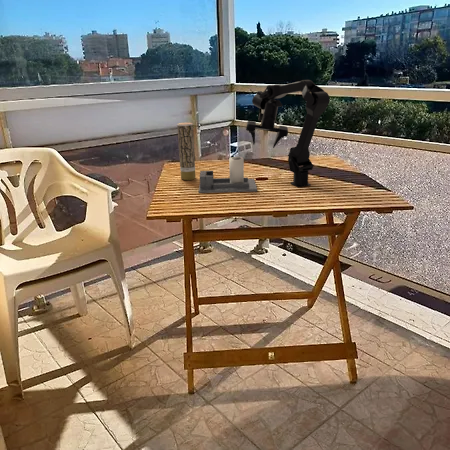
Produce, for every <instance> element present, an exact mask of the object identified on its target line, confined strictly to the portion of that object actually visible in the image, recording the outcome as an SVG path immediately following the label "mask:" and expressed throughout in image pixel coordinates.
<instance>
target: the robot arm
mask: <svg viewBox="0 0 450 450" xmlns="http://www.w3.org/2000/svg"><path fill="white" fill-rule="evenodd" d="M299 92H301V96H302V99H303V100H304V101H305V109H306V110H305V111H306V116H305V119H304V122H303V125H302V128H301V132H300V134H299V137H298V141H297V143H296V146H293V147H290V149H289V152H288V155H287V157H288V159H287V162H288V166H289V171H290V172H291V173H293V178H292V179H293V181H291V182H290V184H291V185H292V186H295V187H297V188H302V187H309V186H311V185H312V184H311V183H309V171H312V170H313V168H314V164H313V162H312V161H311V159H310V156H311V155H310V154H311V153H310V145H311V141H312V139H313V137H314V134H315V130H316V127H317V124H318V122H319V119H320V117H321V115H322V114H324V112H325V111H326V110H327V107H328V105H329V103H330V101H331V100H330V99H331V98H330V95H329V93H328V92H326V91H325V90H324V89H323V88H322V87H320V86H319V85H317V84H315V83H314V82H313V81H312V80H311V79H302V80H300V81H295V82H292V83H291V82H290V83H287V84H283V83H281V84H280V83H278V84H277V83H276V84H267V85H266V87H265V89H264V90H257V92H256V94H255V95H254V96H253V98H252V99H251V101H252V105H253V106H255V107H257V108H259V109H261V110H263V113H261V112H259V114H258V121H261V124H257V122H256V121H253V120H248V121H247V122H246V127H245V130H246V131H248V134H249V133H250V134H251V138H252V145H253V146H255V142H256V130H261V131H268V132H273V133H276V137H275V139H274V142H273V144H272V145H273V146H272V148H273V149H274V148H275V147H276V146H277V144H278V143H279V141H280V140H282V139H284V138H286V137H288V135H289V127H288V126H284V125H279V126H278V127H275V124H276V119H277V114H278V109H279V107H283V103H282V102H281V101H280V99H281V98H284V97H285V96H286V95H289V94H295V93H299ZM275 99H277V100H275Z"/></svg>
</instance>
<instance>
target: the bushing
mask: <svg viewBox="0 0 450 450" xmlns="http://www.w3.org/2000/svg"><path fill="white" fill-rule="evenodd" d="M228 160H229V161H228V162H229V164H228V165H229V168H228V169H229V178H230V183H244V178H245V177H244V176H245V175H244V173H245V171H244V169H245V168H244V167H245V166H244V162H245V161H244V157H241V156H233V157H229V159H228Z"/></svg>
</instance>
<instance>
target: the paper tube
mask: <svg viewBox="0 0 450 450" xmlns="http://www.w3.org/2000/svg"><path fill="white" fill-rule="evenodd" d="M176 126H177V138H178V139H177V140H178V156H179V170H180V179H181V180H182V181H193V180H195V178H197V177H196V159H195V142H194V139H195V138H194V137H195V136H194V124H193V122H179V123H178V122H177V125H176Z"/></svg>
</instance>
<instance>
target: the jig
mask: <svg viewBox="0 0 450 450" xmlns="http://www.w3.org/2000/svg"><path fill="white" fill-rule="evenodd" d="M249 192H250V193H251V192H252V193H253V192H254V193H255V192H258V187H257V184H256V181H255V178H248V177H244V183H230V177H223V178H222V177H218V178H217V177H216V178H214V170H200V172H199V186H198V194H209V193H210V194H212V193H213V194H214V193H215V194H217V193H249Z"/></svg>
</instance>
